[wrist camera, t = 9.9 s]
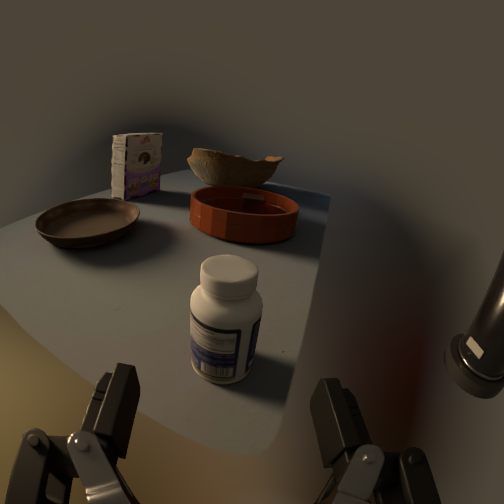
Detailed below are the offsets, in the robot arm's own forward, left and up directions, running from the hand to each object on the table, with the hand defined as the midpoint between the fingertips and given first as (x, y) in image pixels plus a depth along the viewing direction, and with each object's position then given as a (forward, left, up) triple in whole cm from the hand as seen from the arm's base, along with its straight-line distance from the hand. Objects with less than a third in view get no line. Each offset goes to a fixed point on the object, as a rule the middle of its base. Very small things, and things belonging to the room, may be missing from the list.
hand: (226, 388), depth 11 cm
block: (+17, -48, -8) cm, 51 cm away
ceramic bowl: (+34, -74, -9) cm, 82 cm away
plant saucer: (+39, -22, -9) cm, 46 cm away
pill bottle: (+4, -9, -9) cm, 13 cm away
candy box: (+50, -47, -9) cm, 69 cm away
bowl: (+17, -43, -9) cm, 47 cm away
